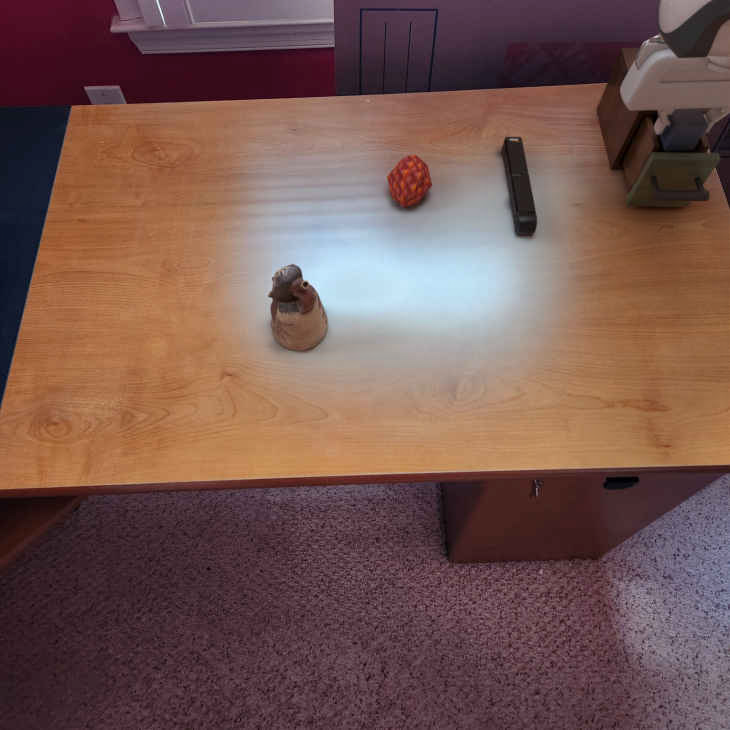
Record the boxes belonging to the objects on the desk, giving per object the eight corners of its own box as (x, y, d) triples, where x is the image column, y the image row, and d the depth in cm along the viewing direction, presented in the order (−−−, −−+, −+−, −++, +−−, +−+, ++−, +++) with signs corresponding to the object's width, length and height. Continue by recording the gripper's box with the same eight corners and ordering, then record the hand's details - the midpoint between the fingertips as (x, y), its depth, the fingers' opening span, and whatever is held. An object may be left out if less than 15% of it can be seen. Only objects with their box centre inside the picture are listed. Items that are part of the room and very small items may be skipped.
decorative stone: (385, 211, 88) (399, 162, 88) (428, 218, 86) (441, 167, 86) (375, 194, 81) (389, 141, 82) (420, 201, 79) (435, 146, 80)
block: (684, 129, 80) (698, 104, 76) (693, 150, 78) (708, 125, 75) (655, 130, 80) (668, 105, 76) (663, 151, 78) (677, 126, 74)
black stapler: (533, 238, 82) (539, 223, 79) (515, 238, 82) (520, 223, 79) (517, 148, 90) (521, 132, 88) (500, 148, 90) (504, 133, 88)
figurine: (304, 296, 78) (294, 237, 67) (339, 329, 75) (334, 273, 65) (262, 326, 75) (245, 270, 65) (296, 362, 73) (284, 309, 62)
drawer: (694, 227, 82) (729, 181, 74) (632, 226, 82) (659, 180, 74) (669, 145, 89) (697, 95, 82) (611, 145, 89) (635, 95, 82)
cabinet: (676, 170, 88) (713, 111, 79) (610, 169, 88) (639, 110, 79) (657, 110, 94) (689, 48, 85) (596, 109, 95) (621, 47, 85)
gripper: (655, 49, 64) (609, 150, 76) (838, 44, 64) (763, 144, 76) (640, 15, 67) (598, 117, 79) (815, 10, 67) (746, 112, 79)
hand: (680, 130), depth 77 cm, fingers closed on block, 4 cm apart
